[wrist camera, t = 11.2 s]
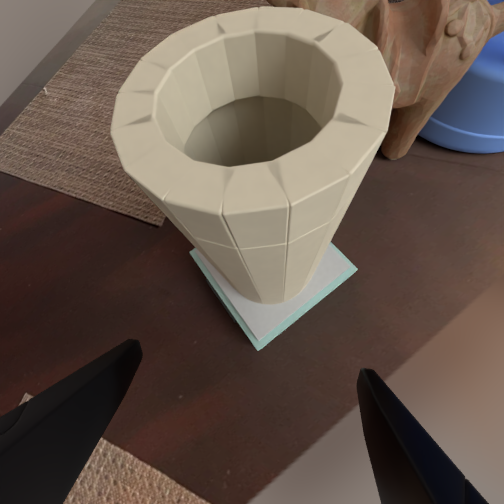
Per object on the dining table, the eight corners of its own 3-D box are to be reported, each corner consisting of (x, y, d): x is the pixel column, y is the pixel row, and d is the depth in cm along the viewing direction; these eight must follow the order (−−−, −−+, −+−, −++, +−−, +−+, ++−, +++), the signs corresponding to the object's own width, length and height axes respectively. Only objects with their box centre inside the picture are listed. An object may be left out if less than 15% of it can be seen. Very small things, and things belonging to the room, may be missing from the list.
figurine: (259, 129, 28) (238, -82, 14) (418, 114, 26) (579, -148, 12) (260, 181, 25) (236, -13, 11) (436, 168, 23) (667, -83, 9)
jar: (320, 300, 17) (440, 187, 4) (228, 308, 18) (89, 231, 5) (305, 216, 20) (354, -14, 7) (224, 226, 20) (126, 30, 7)
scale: (257, 351, 20) (253, 353, 17) (195, 262, 23) (183, 251, 20) (349, 276, 21) (360, 267, 18) (278, 202, 24) (277, 184, 21)
